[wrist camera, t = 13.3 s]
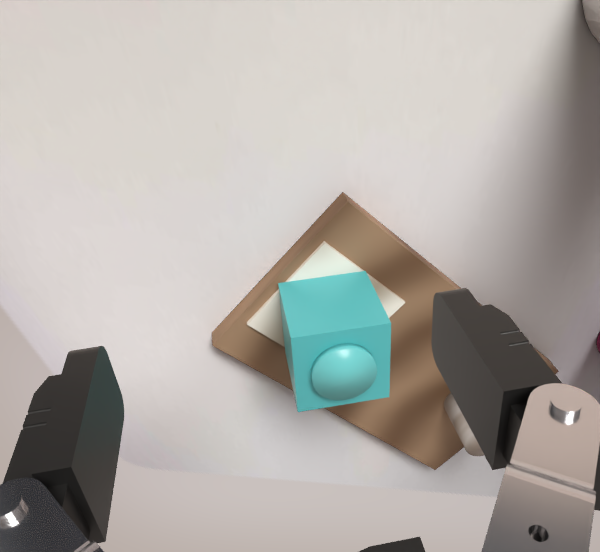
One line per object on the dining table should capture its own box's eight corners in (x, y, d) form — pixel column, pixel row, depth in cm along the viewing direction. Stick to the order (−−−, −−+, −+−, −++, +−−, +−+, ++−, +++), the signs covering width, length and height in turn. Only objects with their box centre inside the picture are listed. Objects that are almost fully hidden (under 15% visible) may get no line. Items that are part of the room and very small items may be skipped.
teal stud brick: (365, 270, 39) (394, 329, 33) (366, 340, 42) (392, 403, 36) (277, 283, 38) (292, 344, 33) (285, 352, 41) (299, 419, 36)
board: (549, 359, 49) (590, 410, 44) (429, 456, 53) (454, 513, 48) (342, 192, 37) (365, 234, 32) (211, 332, 42) (214, 389, 37)
